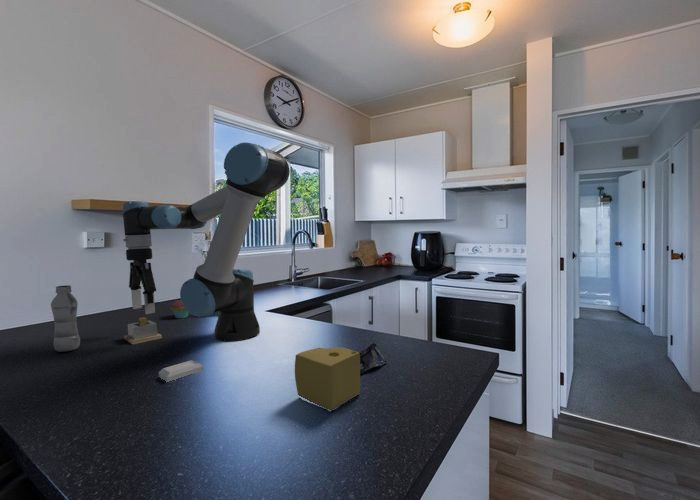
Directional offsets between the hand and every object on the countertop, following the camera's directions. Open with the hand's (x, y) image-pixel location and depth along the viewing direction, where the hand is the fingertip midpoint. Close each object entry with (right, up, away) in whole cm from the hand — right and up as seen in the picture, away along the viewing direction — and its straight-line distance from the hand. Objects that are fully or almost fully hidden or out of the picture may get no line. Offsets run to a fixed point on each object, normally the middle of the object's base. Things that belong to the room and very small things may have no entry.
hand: (143, 310), depth 121 cm
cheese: (+65, -12, -43) cm, 79 cm away
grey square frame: (-1, -9, +1) cm, 9 cm away
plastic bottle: (-17, -11, -11) cm, 23 cm away
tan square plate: (-1, -10, +1) cm, 10 cm away
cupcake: (-1, -8, +31) cm, 32 cm away
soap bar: (+27, -12, -30) cm, 42 cm away
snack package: (+74, -11, -26) cm, 79 cm away
